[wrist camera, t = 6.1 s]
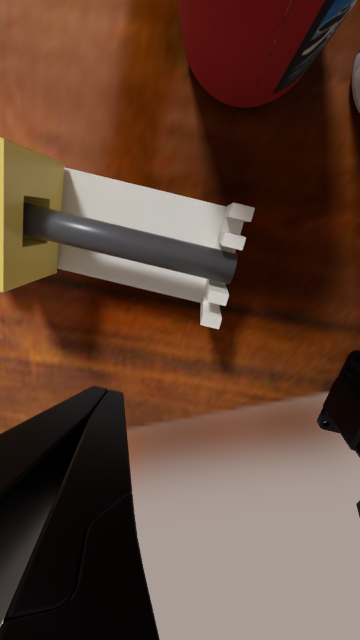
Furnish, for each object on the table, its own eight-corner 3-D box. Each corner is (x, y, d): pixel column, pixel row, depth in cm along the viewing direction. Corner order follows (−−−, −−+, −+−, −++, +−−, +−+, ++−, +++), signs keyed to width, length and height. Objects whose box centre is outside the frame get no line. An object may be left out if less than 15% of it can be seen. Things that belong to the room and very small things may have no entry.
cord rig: (241, 210, 17) (257, 207, 12) (214, 304, 19) (219, 332, 14) (-20, 147, 17) (-109, 118, 12) (-18, 248, 19) (-93, 258, 14)
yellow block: (64, 163, 16) (3, 138, 11) (56, 272, 18) (3, 292, 13) (13, 150, 16) (-72, 120, 11) (11, 261, 18) (-59, 277, 13)
